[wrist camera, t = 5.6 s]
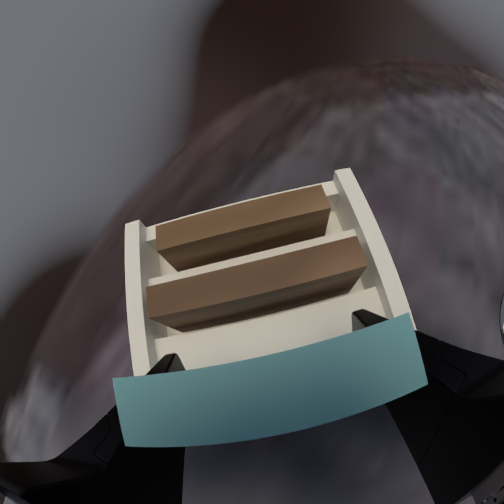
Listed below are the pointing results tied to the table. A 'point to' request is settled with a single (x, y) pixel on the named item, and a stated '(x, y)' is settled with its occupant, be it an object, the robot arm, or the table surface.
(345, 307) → the offcut rack
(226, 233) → the walnut offcut
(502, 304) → the wine glass
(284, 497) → the table surface
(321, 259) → the walnut offcut
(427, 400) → the robot arm
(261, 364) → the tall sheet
